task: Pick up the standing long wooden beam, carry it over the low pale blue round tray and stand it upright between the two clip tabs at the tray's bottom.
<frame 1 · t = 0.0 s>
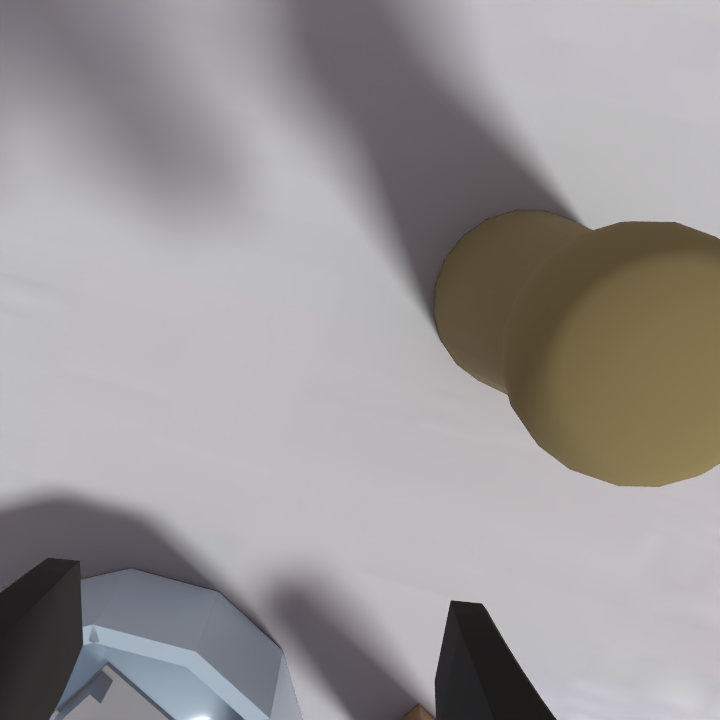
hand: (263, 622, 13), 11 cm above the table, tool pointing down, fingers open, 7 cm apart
cork: (522, 301, 23), on the table
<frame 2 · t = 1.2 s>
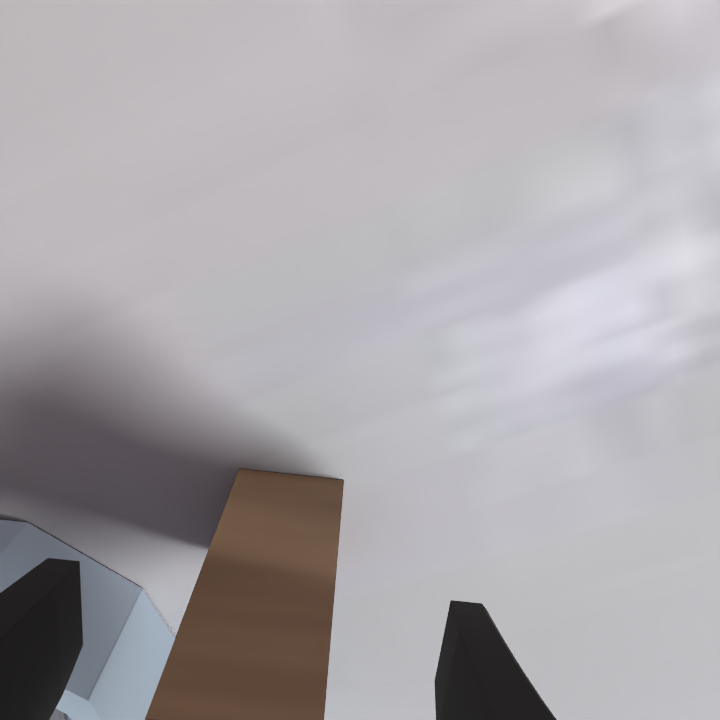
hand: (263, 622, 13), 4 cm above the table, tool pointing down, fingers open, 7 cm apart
long wooden beam: (287, 518, 16), on the table
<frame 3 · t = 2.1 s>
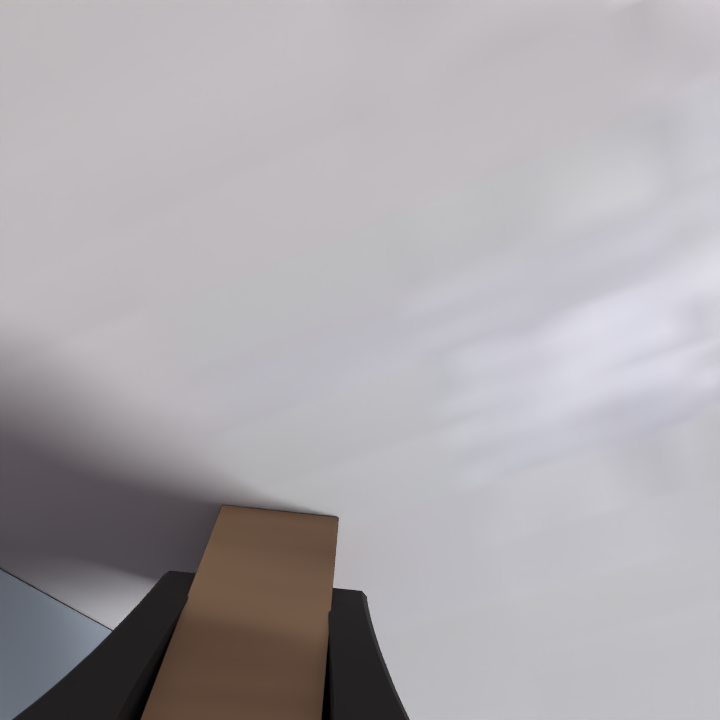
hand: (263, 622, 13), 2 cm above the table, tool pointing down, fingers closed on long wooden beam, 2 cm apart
long wooden beam: (276, 559, 15), on the table, touching gripper
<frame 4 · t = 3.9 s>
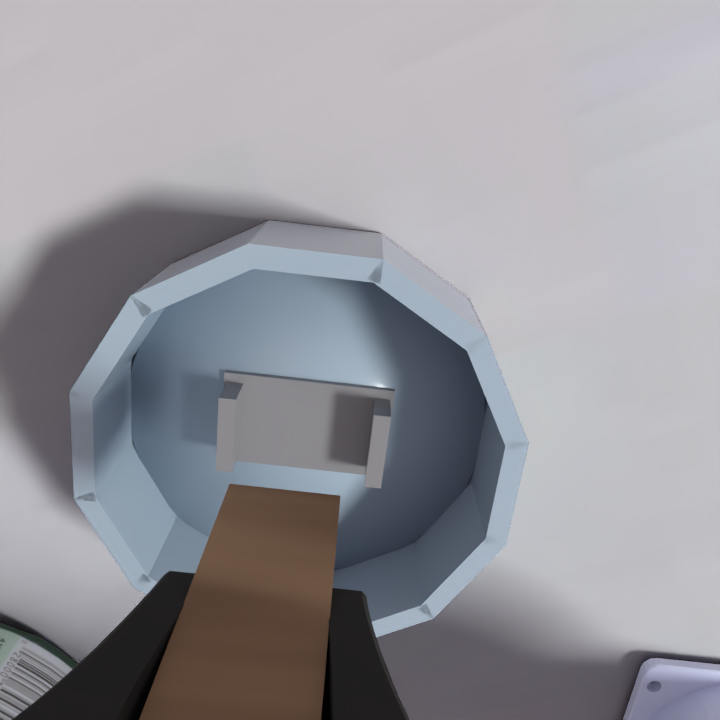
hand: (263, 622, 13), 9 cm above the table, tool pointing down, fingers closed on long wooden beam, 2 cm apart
pale blue round tray: (307, 416, 22), on the table
long wooden beam: (281, 536, 16), point 7 cm above the table, touching gripper
coffee jar: (0, 701, 27), on the table
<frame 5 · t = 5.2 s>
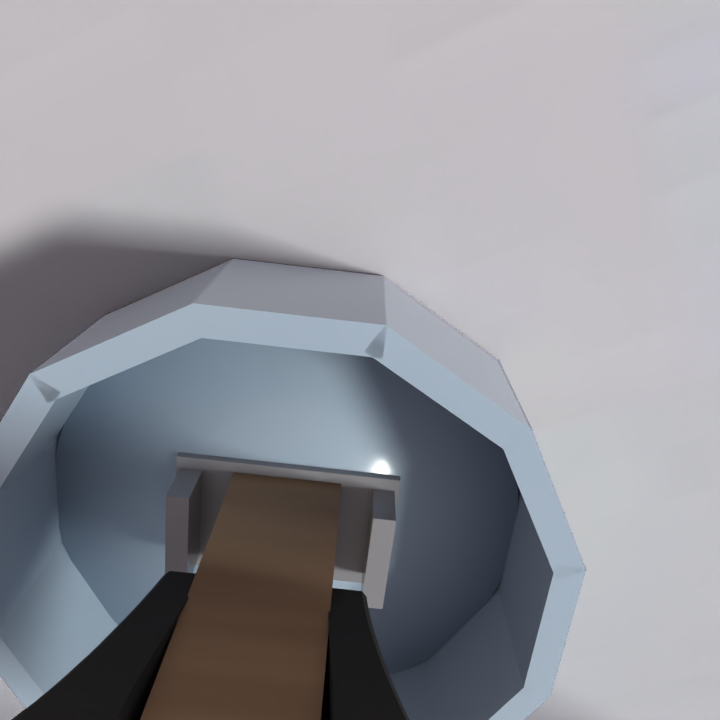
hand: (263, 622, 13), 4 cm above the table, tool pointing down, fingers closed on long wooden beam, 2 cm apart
pale blue round tray: (287, 506, 17), on the table
long wooden beam: (284, 523, 16), point 1 cm above the table, touching gripper
when the fingers open (4 cm above the table, at t = 5.7 s): long wooden beam stays where it is, resting on pale blue round tray.
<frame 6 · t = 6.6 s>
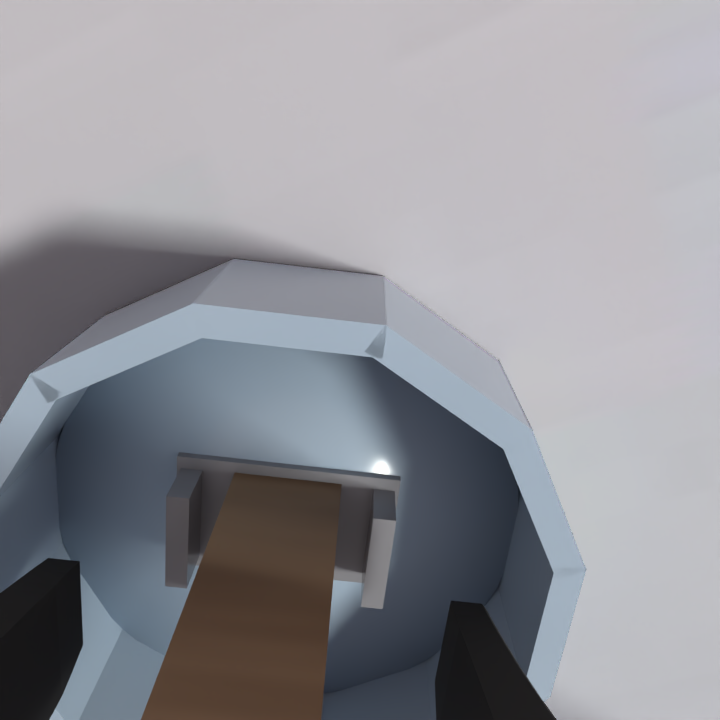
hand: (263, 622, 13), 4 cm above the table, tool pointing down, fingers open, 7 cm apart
pale blue round tray: (288, 506, 17), on the table
long wooden beam: (284, 523, 16), point 1 cm above the table, touching pale blue round tray
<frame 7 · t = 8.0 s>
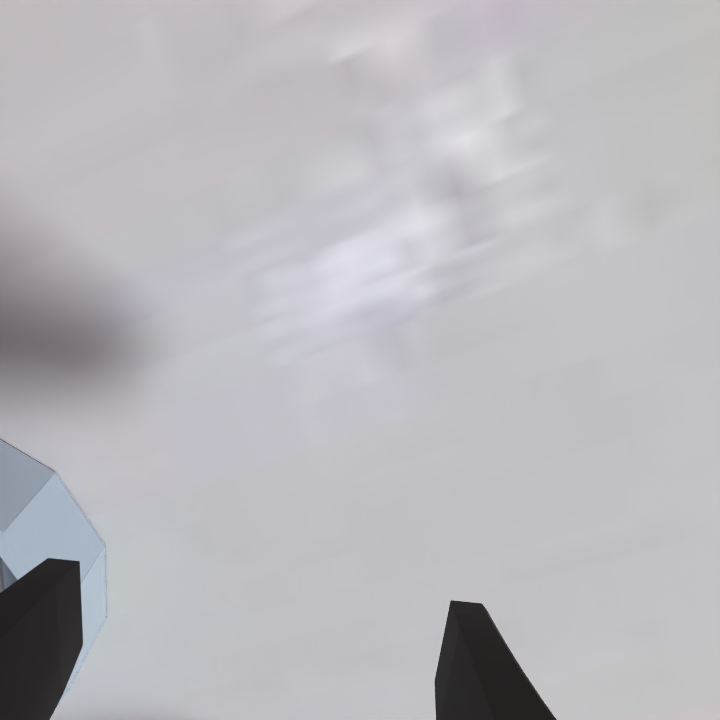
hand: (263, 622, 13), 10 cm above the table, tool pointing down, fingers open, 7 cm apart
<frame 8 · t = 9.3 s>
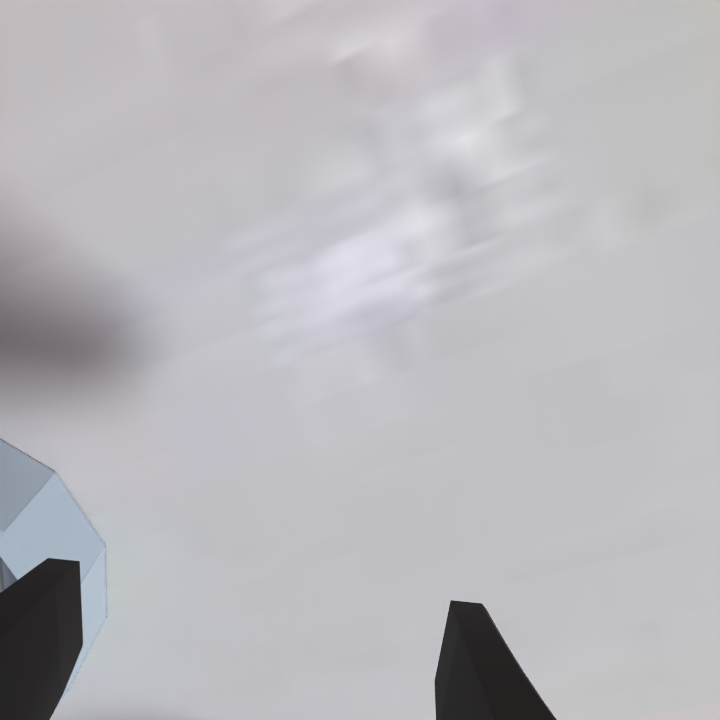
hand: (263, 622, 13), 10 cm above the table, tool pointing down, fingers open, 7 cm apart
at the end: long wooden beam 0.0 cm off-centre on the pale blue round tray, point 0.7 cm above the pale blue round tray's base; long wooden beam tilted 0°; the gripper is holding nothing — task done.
